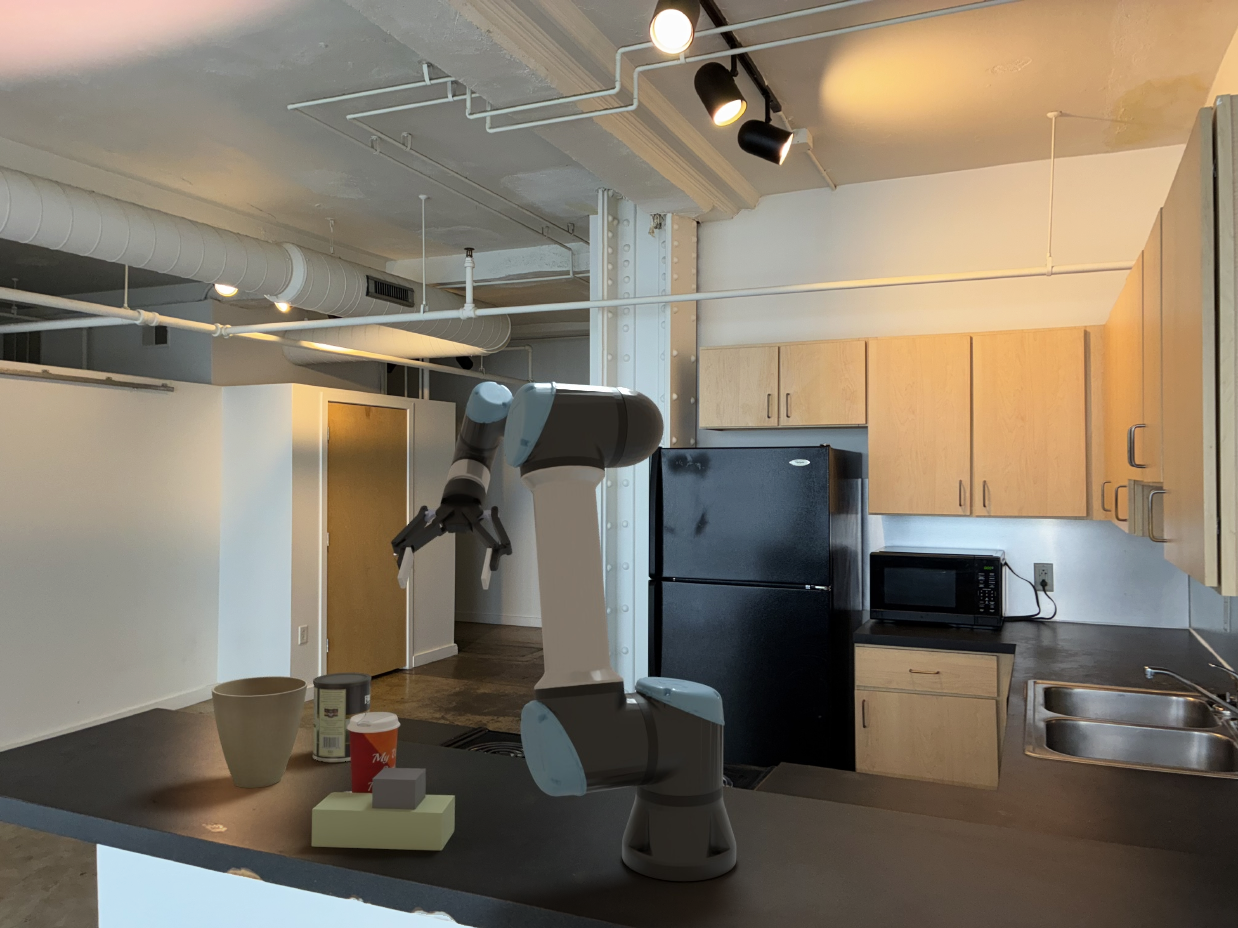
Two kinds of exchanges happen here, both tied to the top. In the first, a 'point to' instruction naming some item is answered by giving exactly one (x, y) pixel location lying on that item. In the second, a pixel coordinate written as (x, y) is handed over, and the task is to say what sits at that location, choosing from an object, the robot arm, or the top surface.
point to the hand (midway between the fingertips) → (442, 583)
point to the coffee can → (337, 713)
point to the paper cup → (371, 747)
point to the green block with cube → (386, 815)
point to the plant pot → (258, 726)
